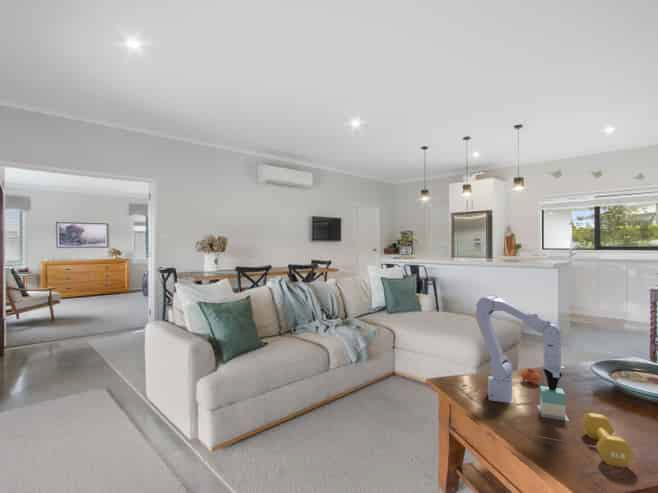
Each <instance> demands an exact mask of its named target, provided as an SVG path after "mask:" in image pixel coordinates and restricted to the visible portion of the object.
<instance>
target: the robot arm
mask: <svg viewBox="0 0 658 493" xmlns="http://www.w3.org/2000/svg"><path fill="white" fill-rule="evenodd" d="M475 306H476V311H475V320H476V323H477V325H478V327H479V331H480V332H481V335H482V339H483V341H484V343H485V346H486V348H487V350H488V351H487V352H488V353H489V356H490V362H489V364H490V368H491V369H490V372H491V375H490V376H489V375H488V376H487V390H486V391H487V394H488V400H489V401H492V402H501V403H507V404H514V403H515V401H514V398H513V397H514V396H513V378H512V374H513V373H514V368H515V367H514V366H513V364H512V362H511V361H510V359H508V356H507V355H506V354H504V352H503V349H502V347H501V344H500V342H499V339H498V337H497V336H498V335H496V332H495V329H494V327H493V325H492V321H491V319H490V318H491V316H492V314H493V313H494V312H505V313H507V314H508V315H511V316H513V317H515V318H517V319H519V320H521V321H522V323H523V325H524V326H526V327H527V328H529V329H531V330H533V331H535V332H537V333H538V334H541V335H542V337H543V364H542V367H543V369H542V370H543V372H544V375H545V377H546V382H547V387H549V389H550V390H556V388H558V383H559V381H560V379H561V378H562V376H563V374H562V373H561V372H562V371H565V370H566V368H565V366H563V365H562V344H561V343H562V340H561V338H562V337H561V336H562V334H563V329H562V326H561V325H560V324H558V323H557V322H551V320H550V319H545V318H543V317H542V316H539V313H536V312H534V313H533V312H528V313H527V312H525V311H524V310H521V309H520V308H518V307H516V306H514V305H513V304H511V303H509V302H508V301H506V300H505V299H504V298H501V297H498V296H496V295H494V294H490V295H488V296H484V297H480V298H479V300H478V301H477V302H476V304H475Z"/></svg>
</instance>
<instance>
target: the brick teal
mask: <svg viewBox="0 0 658 493" xmlns="http://www.w3.org/2000/svg"><path fill="white" fill-rule="evenodd" d="M540 398H541V400H542V402H543V403H550V404H557V405H564V406H565V407H566V393H565V391H564V389H563V388H560V387H559V388H558V387H557V388H556V390H550V389H549V387H548V386H543V385H540V386H539V399H540Z"/></svg>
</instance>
